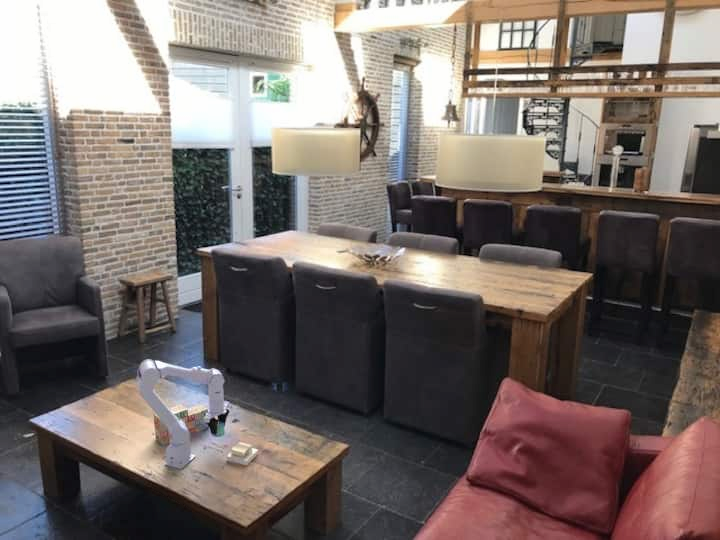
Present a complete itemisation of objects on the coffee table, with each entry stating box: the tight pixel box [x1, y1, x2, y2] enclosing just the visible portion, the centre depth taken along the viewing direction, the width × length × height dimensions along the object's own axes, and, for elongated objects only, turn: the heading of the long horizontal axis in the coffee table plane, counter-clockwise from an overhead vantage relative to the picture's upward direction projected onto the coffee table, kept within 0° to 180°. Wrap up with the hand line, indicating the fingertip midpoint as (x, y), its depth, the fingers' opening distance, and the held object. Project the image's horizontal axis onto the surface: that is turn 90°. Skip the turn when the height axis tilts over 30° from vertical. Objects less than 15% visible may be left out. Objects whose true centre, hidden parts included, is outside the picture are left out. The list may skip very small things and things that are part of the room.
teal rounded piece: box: [211, 422, 226, 438], centre depth 239 cm, size 5×5×4 cm
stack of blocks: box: [153, 404, 210, 446], centre depth 253 cm, size 21×6×12 cm, turn 131°
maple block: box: [230, 441, 253, 458], centre depth 237 cm, size 6×6×2 cm
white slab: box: [226, 447, 259, 466], centre depth 238 cm, size 9×9×2 cm
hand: (218, 430), depth 240 cm, fingers closed on teal rounded piece, 5 cm apart
